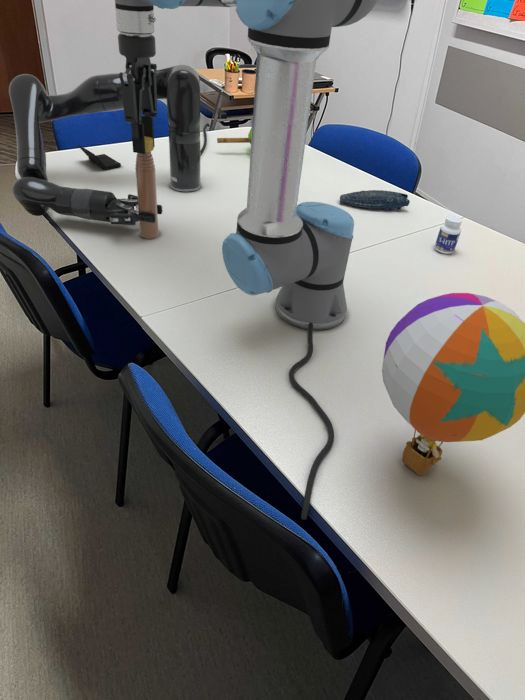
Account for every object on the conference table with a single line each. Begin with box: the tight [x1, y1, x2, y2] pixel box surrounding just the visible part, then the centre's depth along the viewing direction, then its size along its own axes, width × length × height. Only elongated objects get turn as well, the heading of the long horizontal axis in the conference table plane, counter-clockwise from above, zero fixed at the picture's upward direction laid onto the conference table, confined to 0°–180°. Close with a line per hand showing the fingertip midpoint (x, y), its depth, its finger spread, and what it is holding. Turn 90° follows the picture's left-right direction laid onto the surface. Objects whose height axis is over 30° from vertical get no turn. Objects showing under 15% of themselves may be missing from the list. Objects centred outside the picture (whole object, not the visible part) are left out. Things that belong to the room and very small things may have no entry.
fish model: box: [339, 189, 411, 211], centre depth 158 cm, size 7×21×5 cm, turn 84°
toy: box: [381, 292, 525, 477], centre depth 72 cm, size 20×20×30 cm
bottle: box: [134, 151, 160, 240], centre depth 127 cm, size 5×5×24 cm
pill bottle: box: [434, 215, 463, 255], centre depth 137 cm, size 5×5×9 cm
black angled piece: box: [77, 144, 122, 170], centre depth 169 cm, size 12×7×10 cm
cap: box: [144, 136, 155, 152], centre depth 120 cm, size 4×4×2 cm
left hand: (158, 214), depth 131 cm, fingers closed on bottle, 4 cm apart
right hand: (144, 149), depth 121 cm, fingers closed on cap, 4 cm apart
